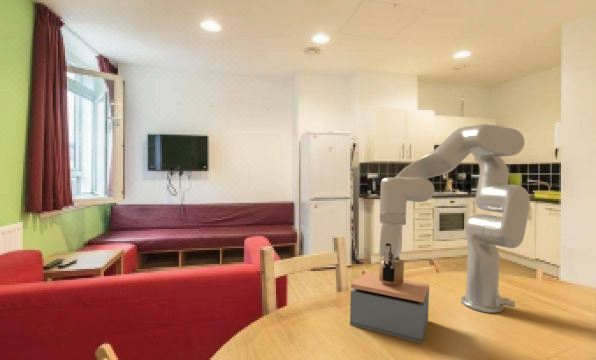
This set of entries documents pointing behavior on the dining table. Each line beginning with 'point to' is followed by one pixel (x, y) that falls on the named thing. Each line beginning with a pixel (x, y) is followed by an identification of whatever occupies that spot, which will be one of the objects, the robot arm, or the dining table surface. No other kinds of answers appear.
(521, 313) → the dining table surface
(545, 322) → the dining table surface
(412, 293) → the lid
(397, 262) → the brown squat cylinder
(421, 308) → the box
